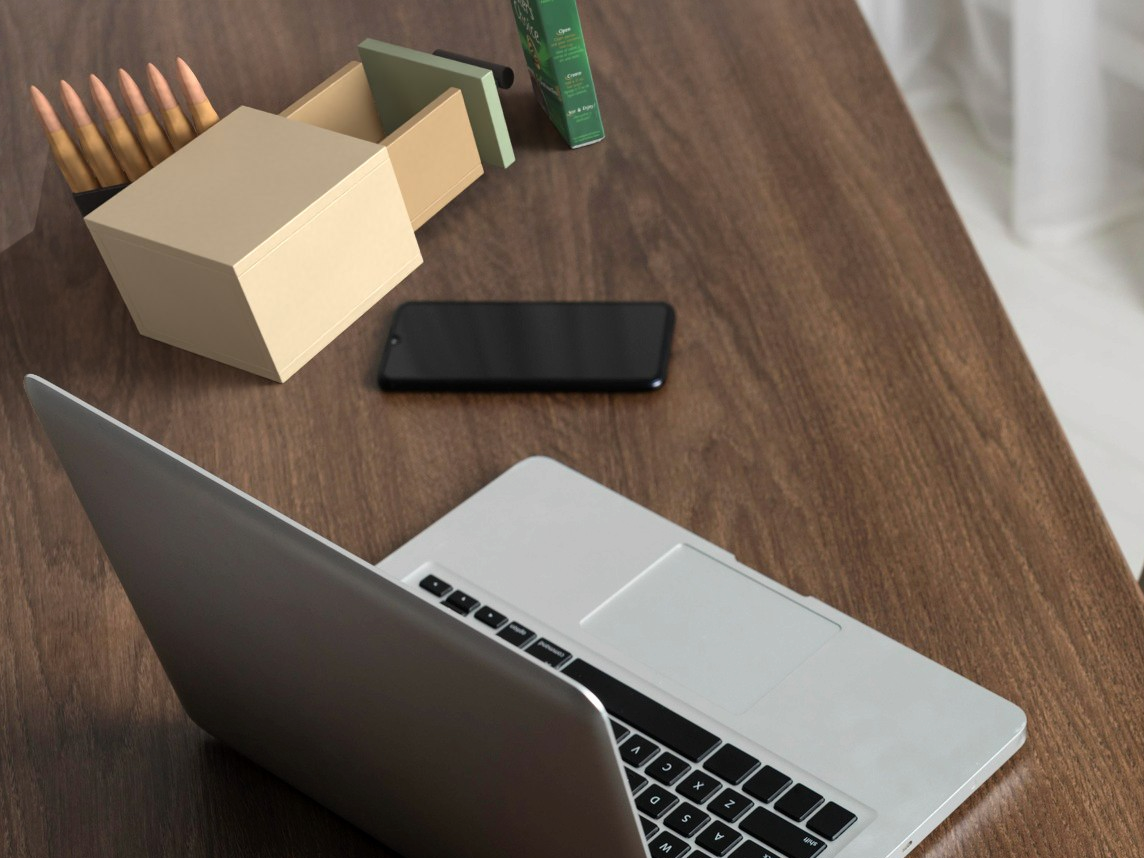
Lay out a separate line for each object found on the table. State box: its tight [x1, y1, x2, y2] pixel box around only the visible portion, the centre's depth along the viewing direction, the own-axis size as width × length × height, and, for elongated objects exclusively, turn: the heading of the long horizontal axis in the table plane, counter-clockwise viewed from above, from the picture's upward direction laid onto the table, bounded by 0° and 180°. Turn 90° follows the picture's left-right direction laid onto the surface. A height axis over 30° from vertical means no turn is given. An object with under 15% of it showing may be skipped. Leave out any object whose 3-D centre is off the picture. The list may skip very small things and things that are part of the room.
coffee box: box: [509, 0, 606, 149], centre depth 119 cm, size 8×3×13 cm, turn 29°
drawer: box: [277, 37, 516, 233], centre depth 115 cm, size 17×10×7 cm, turn 154°
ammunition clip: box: [28, 56, 222, 263], centre depth 110 cm, size 11×2×12 cm, turn 104°
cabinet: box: [82, 104, 424, 384], centre depth 107 cm, size 14×12×9 cm
